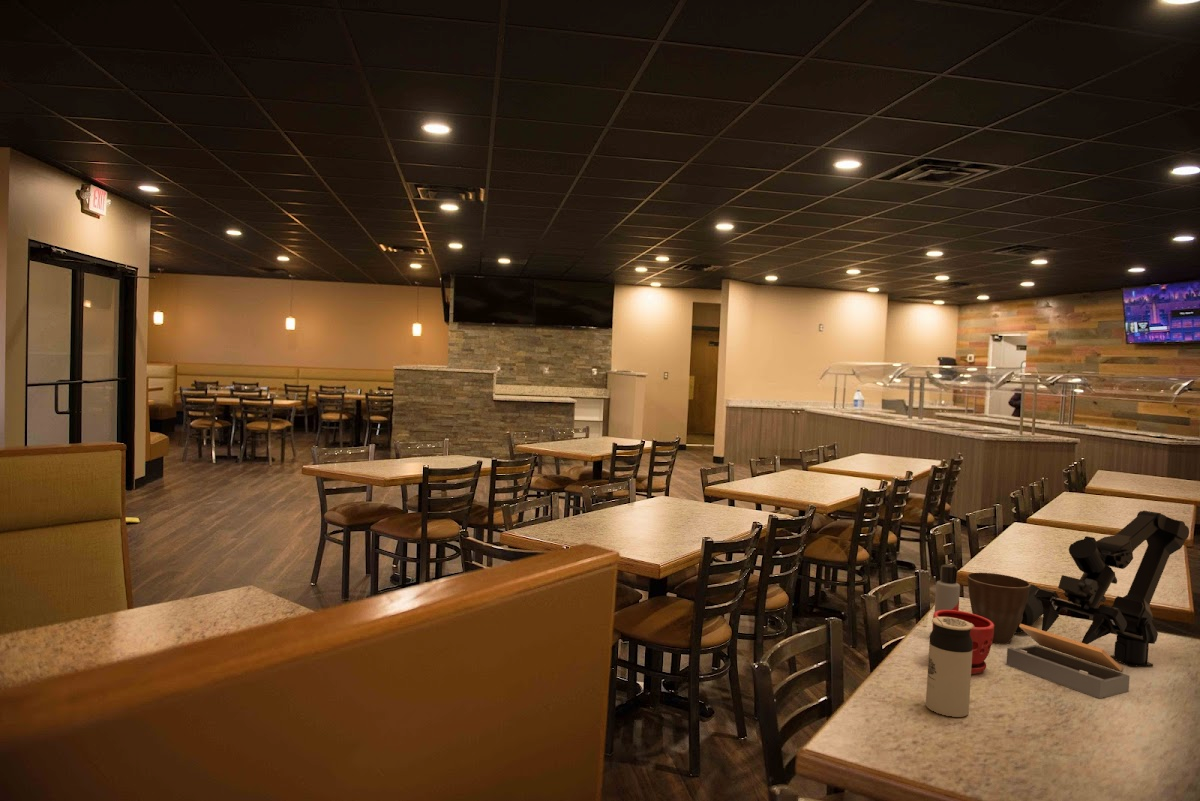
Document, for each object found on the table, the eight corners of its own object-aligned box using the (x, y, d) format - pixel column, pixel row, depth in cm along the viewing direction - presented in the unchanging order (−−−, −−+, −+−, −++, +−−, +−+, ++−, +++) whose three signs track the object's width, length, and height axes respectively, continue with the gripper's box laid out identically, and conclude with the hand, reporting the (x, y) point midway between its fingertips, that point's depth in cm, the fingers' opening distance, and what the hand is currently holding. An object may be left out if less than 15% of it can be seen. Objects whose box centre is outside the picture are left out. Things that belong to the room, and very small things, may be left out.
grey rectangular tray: (1034, 658, 192) (1036, 640, 192) (1128, 691, 173) (1129, 670, 173) (1006, 664, 187) (1007, 645, 187) (1099, 698, 168) (1101, 677, 168)
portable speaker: (1011, 612, 235) (1013, 579, 234) (1048, 619, 228) (1050, 586, 228) (989, 630, 215) (992, 594, 215) (1030, 639, 209) (1032, 602, 209)
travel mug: (966, 706, 160) (971, 619, 160) (970, 721, 153) (976, 630, 152) (924, 699, 163) (929, 613, 163) (927, 713, 155) (932, 624, 155)
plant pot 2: (1038, 650, 199) (1042, 588, 199) (979, 647, 199) (983, 585, 199) (1008, 631, 214) (1012, 574, 213) (954, 629, 214) (957, 571, 214)
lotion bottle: (959, 645, 200) (963, 567, 199) (935, 642, 201) (940, 565, 201) (953, 638, 206) (958, 563, 205) (930, 636, 207) (935, 561, 206)
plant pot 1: (930, 671, 180) (933, 620, 179) (929, 654, 192) (932, 606, 192) (993, 682, 175) (997, 629, 174) (988, 664, 187) (991, 614, 187)
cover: (1039, 645, 191) (1041, 642, 191) (1122, 673, 174) (1123, 669, 174) (1018, 626, 187) (1020, 623, 187) (1101, 652, 170) (1102, 648, 170)
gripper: (1040, 554, 189) (1010, 605, 184) (1122, 573, 173) (1091, 628, 168) (1058, 583, 193) (1029, 633, 188) (1140, 604, 177) (1110, 659, 172)
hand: (1062, 637), depth 179 cm, fingers open, 9 cm apart
